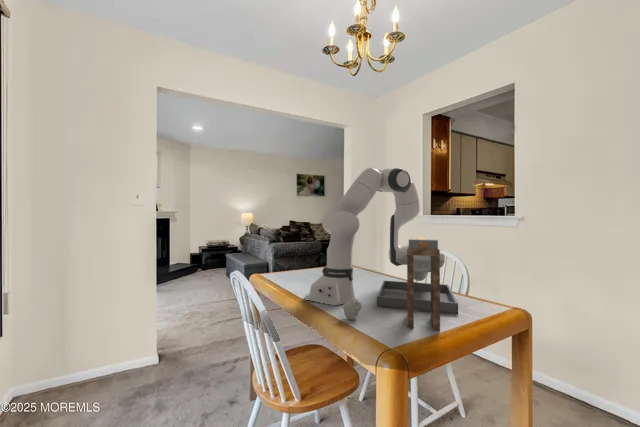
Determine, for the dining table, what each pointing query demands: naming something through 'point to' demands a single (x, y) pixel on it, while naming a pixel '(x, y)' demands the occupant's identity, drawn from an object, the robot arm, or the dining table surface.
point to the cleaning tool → (423, 244)
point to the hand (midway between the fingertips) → (420, 251)
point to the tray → (415, 297)
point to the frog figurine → (352, 309)
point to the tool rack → (434, 285)
